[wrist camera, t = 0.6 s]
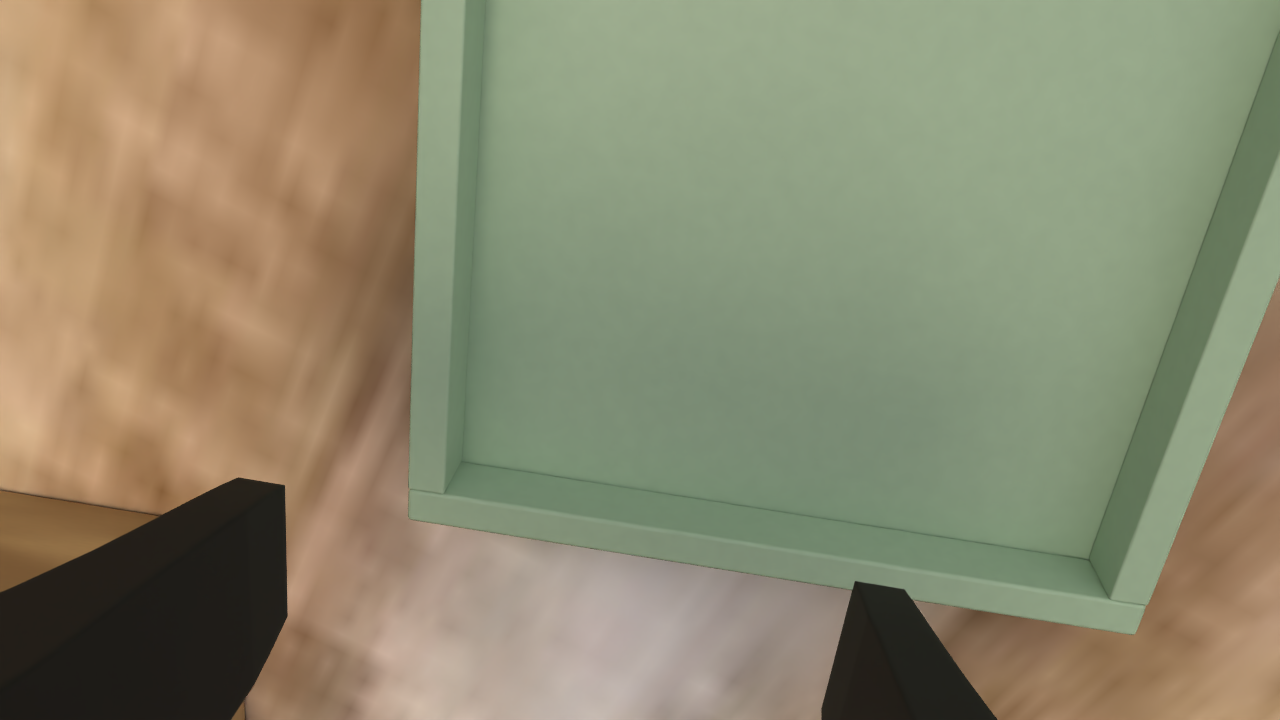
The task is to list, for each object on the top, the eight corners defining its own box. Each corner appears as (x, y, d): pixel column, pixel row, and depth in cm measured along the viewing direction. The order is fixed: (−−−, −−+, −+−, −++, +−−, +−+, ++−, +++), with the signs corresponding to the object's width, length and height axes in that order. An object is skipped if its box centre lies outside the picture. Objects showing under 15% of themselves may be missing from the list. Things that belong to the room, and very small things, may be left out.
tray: (1106, 580, 23) (1136, 637, 21) (433, 474, 24) (406, 521, 22) (1512, -503, 15) (1615, -559, 13) (474, -613, 16) (437, -681, 14)
